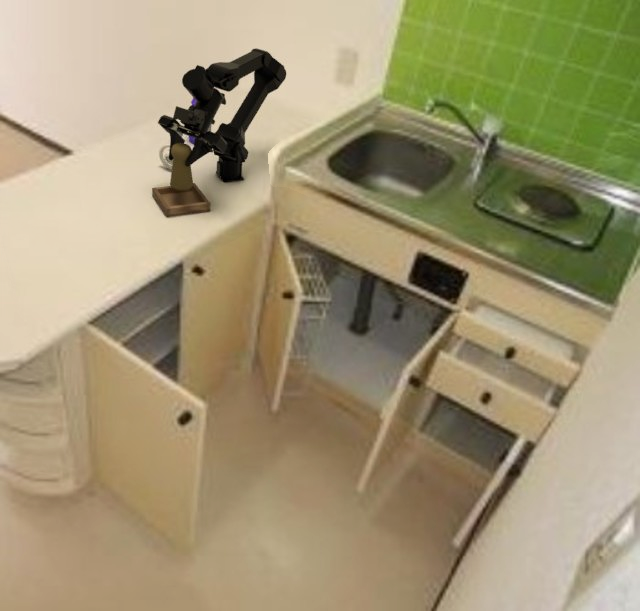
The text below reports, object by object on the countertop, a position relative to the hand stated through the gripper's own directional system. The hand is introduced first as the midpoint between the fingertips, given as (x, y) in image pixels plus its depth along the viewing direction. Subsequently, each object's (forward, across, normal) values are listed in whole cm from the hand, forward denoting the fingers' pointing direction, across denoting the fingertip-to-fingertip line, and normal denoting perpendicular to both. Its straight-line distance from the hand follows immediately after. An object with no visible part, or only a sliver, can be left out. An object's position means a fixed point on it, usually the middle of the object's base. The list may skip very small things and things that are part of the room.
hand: (178, 163), depth 164 cm
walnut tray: (+8, 0, +9) cm, 12 cm away
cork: (+4, 0, +6) cm, 7 cm away
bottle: (-17, -21, +35) cm, 44 cm away
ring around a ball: (-3, -15, +21) cm, 26 cm away
